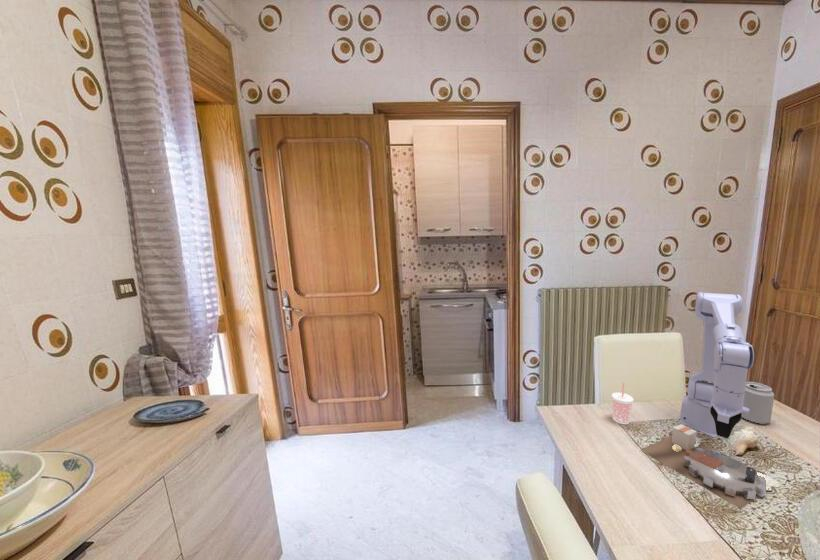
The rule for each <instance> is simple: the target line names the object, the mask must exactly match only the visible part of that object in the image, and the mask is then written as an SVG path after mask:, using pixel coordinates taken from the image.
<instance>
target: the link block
mask: <svg viewBox="0 0 820 560" xmlns="http://www.w3.org/2000/svg"><path fill="white" fill-rule="evenodd" d="M697 435H698V430H696V429H694V428H693V429H692V427H690V426H688V425H685V424H683V423H680V424H678V425H676V426H673V428H672V435H671V436H672V443H673V444H677V445H679V446H680V447H681V448H683V449H684V450H686V451H687V450H688V449H689V450H690V449H692V448H694V445H695V444H696V441H697V437H698V436H697Z"/></svg>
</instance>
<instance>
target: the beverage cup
mask: <svg viewBox="0 0 820 560" xmlns="http://www.w3.org/2000/svg"><path fill="white" fill-rule="evenodd" d="M624 391H625V382H622V387H621V392H613V393H611V399H612V420H613V421H614V422H616V423H618V424H620V425H628V424H630V418H631V412H632V406H633V403H634V398H633V397H632V396H631V395H630V394H627V393H625V392H624Z"/></svg>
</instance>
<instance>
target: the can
mask: <svg viewBox="0 0 820 560" xmlns="http://www.w3.org/2000/svg"><path fill="white" fill-rule="evenodd" d="M774 401H775V393H774V392H773V388H772V387H770V386H768V385H765V384H764V383H761V382H760V383H759V382H755V381H746V387H745V394H744V401H743V407H746V408H749V413H743V412H742V415H741V418H742V417H743V418H744V419H743V418H742V419H743V420H745V419H746V421H747V420H749V421H748V422H750V421H751V422H750V423H753V422H755V423H754V424H756V423H762V424H761V425H765V423H766V424H770V423H771V419H772V412H773V408H774V407H773V406H774Z"/></svg>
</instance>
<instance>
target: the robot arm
mask: <svg viewBox="0 0 820 560" xmlns="http://www.w3.org/2000/svg"><path fill="white" fill-rule="evenodd" d="M694 309H695V310H694V314H695V318H697V319H700V320H702V321H701V322H702V325H703V330H702V331H703V332H702V333H703V334H702V335H703V337H702V351H701V352H702V356H701V367H700V368H701V370H700V369H699V371H696V372H693V373H691V374H690V375H689V376H688V377H689V378H688V379H689V380H688V385H687V395H686V396H684V398H683V399H682V401H681V406H680V407H681V408H680V418H679V420H678V422H679V423H680V424H682V425H685V426H687V427H690V428H691V429H692V428H693V430H695V431H699V432H701V433H703V434H705V435H707V436H709V437H711V438H716V437H718V436H719V437H720V438H724V439H729V438H730V436H731V435H732V434H731V433H732V432H733V429H734V427H735V426H736V425H737V424H738V423H740V422H741V418H742V417H741V415H742V412H743V413H749V408H746V407H743V401H744V394H745V387H746V382H747V380H748V371H749V369H752V367H753V365H754V362H755V352H754V348H753V345H752V344H750V342H747V341H746V339H745V335H744V332H743V329H742V327H741V326H739V325H738V324H736V322H735V321H736V320H735V319H737V317H738V316H739V315H740V314H741V312H742V309H743V297H742V296H741V295H740V294H737V293H735V294H730V293H729V294H728V293H718V292H717V293H715V292H714V293H713V292H712V293H711V292H703V291H699V292H698V293H696V296H695V308H694Z"/></svg>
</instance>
